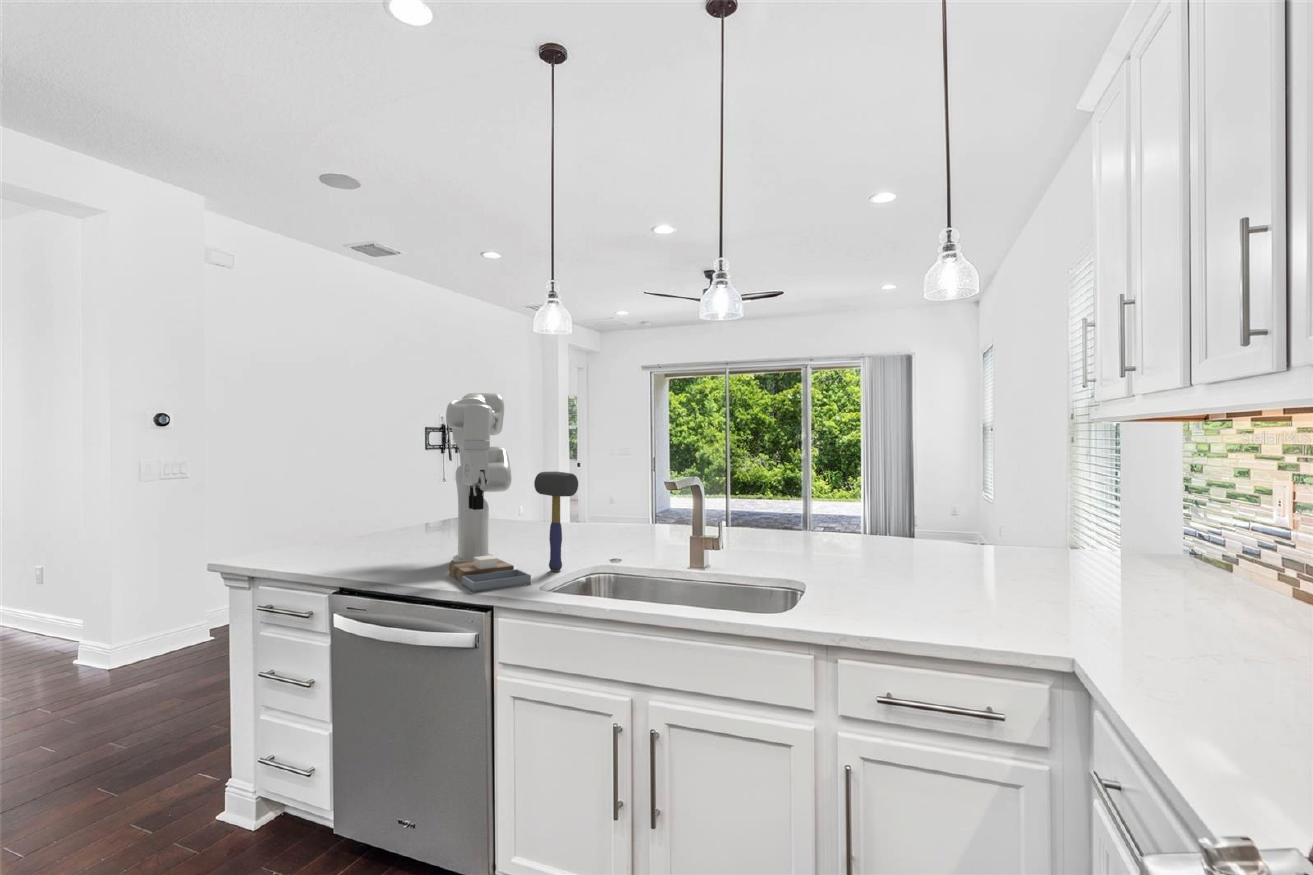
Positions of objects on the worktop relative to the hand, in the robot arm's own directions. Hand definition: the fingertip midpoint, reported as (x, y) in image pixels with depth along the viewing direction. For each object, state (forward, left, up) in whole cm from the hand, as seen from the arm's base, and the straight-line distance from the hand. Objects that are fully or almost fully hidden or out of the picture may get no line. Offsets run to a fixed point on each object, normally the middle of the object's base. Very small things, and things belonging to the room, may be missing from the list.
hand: (475, 508), depth 181 cm
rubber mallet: (+10, +21, -19) cm, 30 cm away
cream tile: (+8, 0, -16) cm, 18 cm away
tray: (+17, 0, -19) cm, 25 cm away
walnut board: (+5, 0, -19) cm, 20 cm away
